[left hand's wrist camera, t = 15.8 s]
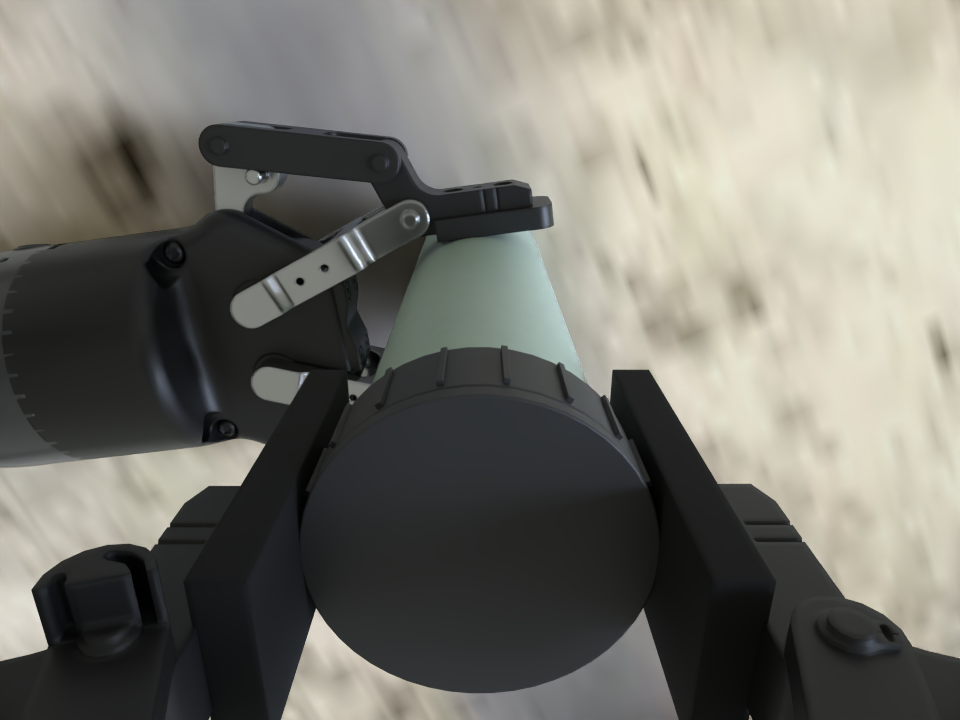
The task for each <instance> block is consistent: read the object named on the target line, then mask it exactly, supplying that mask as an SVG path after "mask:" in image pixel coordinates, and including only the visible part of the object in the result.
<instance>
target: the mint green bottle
mask: <svg viewBox="0 0 960 720" xmlns="http://www.w3.org/2000/svg"><path fill="white" fill-rule="evenodd" d="M501 345H504V346H508V349H510V350H515V351H519V352H523V353H527V354H531V355H534V356H537V357H540V358H542V359H545V360H548V361H550V362H553V363H555V364H556V365H557V364H558V362H560V363H562V364H564V366H565V369H566V370H568V371H570V372H571V373H573V374H574V375H575V376H577V377H578V378H580V379H581V380H582V381H584V382H585V383H587V381H586V378H585V375H584V373H583V370H582V367H581V364H580V362H579V359H578V356H577V354H576V351H575V348H574V345H573V343H572V340H571V337H570V335H569V332H568V329H567V326H566V324H565V321H564V318H563V315H562V313H561V310H560V307H559V305H558V302H557V299H556V296H555V294H554V291H553V288H552V285H551V283H550V280H549V277H548V275H547V272H546V269H545V266H544V264H543V261H542V258H541V256H540V253H539V250H538V247H537V245H536V242H535V239H534V237H533V234H532V233H531V231H523V232H515V233H507V234H500V235H492V236H485V237H477V238H467V239H462V240H454V241H447V242H439V243H438V242H437V235H430V236H426V239H425V241H424V244H423V247H422V250H421V252H420V255H419V258H418V261H417V263H416V266H415V269H414V271H413V274H412V277H411V280H410V282H409V285H408V288H407V290H406V293H405V296H404V299H403V301H402V304H401V307H400V309H399V312H398V315H397V318H396V320H395V323H394V326H393V329H392V331H391V334H390V337H389V339H388V342H387V345H386V348H385V350H384V353H383V356H382V358H381V361H380V364H379V367H378V369H377V372H376V375H375V377H374V380H373V383H375V382H376V381H377V380H379V379H380V378H381V377H383V376H384V374H385V371H386V369H388V368H390V367H392V369H393V370H394V369H396V368H397V367H399V366H401V365H403V364H405V363H407V362H410V361H412V360H415V359H417V358H420V357H422V356H425V355H429V354H433V353H436V352H440V350H441V348H443V347H447V349H448V350H450V349H458V348H465V347H493V348H501ZM373 383H372V384H373Z"/></svg>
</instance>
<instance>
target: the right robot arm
mask: <svg viewBox="0 0 960 720" xmlns="http://www.w3.org/2000/svg"><path fill="white" fill-rule="evenodd" d="M199 149H200V152H201V154H202V156H203V157H204V158H205V159H206V160H207V161H208V162H209V163H210V164H212V165H213V179H214V202H215V211H213V212H211V213H209V214H207V215H206V216H204V217H203V218H202V219H201V220H200V221H199V222H198V223H196V224H195V225H193V226H189V227H184V228H177V229H170V230H162V231H155V232H147V233H140V234H132V235H125V236H117V237H110V238H102V239H95V240H88V241H80V242H73V243H65V244H58V245H51V244H34V245H25V246H19V247H17V248H16V249H13V251H6V252H0V468H10V467H28V466H38V465H46V464H54V463H63V462H71V461H79V460H88V459H97V458H105V457H114V456H123V455H131V454H140V453H148V452H157V451H165V450H174V449H183V448H191V447H199V446H205V445H210V444H215V443H219V442H222V441H226V440H231V439H249V440H253V441H257V442H260V443H263V444H266V443H267V442H268V440H269V438H270V437H271V435H272V433H273V432H274V430H275V428H276V427H277V425H278V423H279V422H280V420H281V418H282V417H283V415H284V413H285V412H286V410H287V408H288V407H289V405H290V403H291V402H292V400H293V399H294V397H295V395H296V394H297V392H298V390H299V389H300V387H301V385H302V384H303V382H304V380H305V379H306V377H307V375H308V374H309V372H310V370H347V377H348V390H349V402H350V404H353V403H354V402H355V400H356V399H357V398H358V397H359V396H360V395H361V394H362V393H363V392H364V391H365V390H366V389H367V388H368V387H369V386H371V385H372V383H373V380H374V377H375V375H376V372H377V369H378V367H379V364H380V361H381V358H382V356H383V353H384V350H385V348H380V347H376V346H371V345H370V343H369V338H368V333H367V329H366V327H365V325H364V323H363V321H362V319H361V317H360V315H359V313H358V311H357V299H358V284H357V279H356V273H358V272H360V271H361V270H363V269H365V268H366V267H368V266H369V265H370V264H371V263H373V262H374V261H376V260H378V259H379V258H381V257H383V256H385V255H387V254H389V253H391V252H393V251H394V250H396V249H398V248H400V247H402V246H404V245H406V244H407V243H409V242H411V241H413V240H415V239H417V238H419V237H422V236H430V235H437V242H438V243H439V242H447V241H454V240H462V239H467V238H477V237H485V236H492V235H500V234H507V233H515V232H523V231H530V230H538V229H544V228H548V227H551V226H553V225H554V222H553V211H552V202H551V201H550V199H549V198H548V197H547V196H535V197H532V191H531V188H530V186H529V184H527V183H524V182H520V181H516V180H506V181H498V182H491V183H484V184H476V185H469V186H462V187H454V188H447V189H434V188H431V187H428V186H427V185H425V184H424V183H423V182H422V181H421V180H420V179H419V177H418V175H417V174H416V172H415V170H414V168H413V166H412V164H411V163H410V161H409V159H408V153H407V150H406V147H405V146H404V144H403V143H402V142H401V141H400V140H398V139H396V138H394V137H388V136H378V135H369V134H360V133H350V132H341V131H332V130H322V129H313V128H304V127H294V126H285V125H276V124H266V123H257V122H248V121H239V122H229V123H222V124H216V125H210V126H208V127H206V128H205V129H204V130H203V131H202V132H201V134H200V137H199ZM287 174H293V175H303V176H312V177H322V178H331V179H341V180H350V181H360V182H370V183H371V184H372V186H373V187H374V189H375V191H376V193H377V194H378V196H379V198H380V200H381V202H382V203H383V205H382V206H381V207H379V208H377V209H375V210H373V211H371V212H370V213H368V214H366V215H363V216H361V217H359V218H357V219H355V220H353V221H351V222H349V223H348V224H346V225H344V226H342V227H340V228H339V229H337V230H335V231H333V232H331V233H330V234H328V235H326V236H324V237H322V238H321V239H319V240H315V239H313V238H311V237H309V236H307V235H305V234H303V233H301V232H299V231H297V230H295V229H293V228H291V227H289V226H287V225H285V224H283V223H281V222H280V221H278V220H276V219H274V218H272V217H270V216H268V215H266V214H264V213H262V212H260V211H258V210H256V209H254V208H252V204H253V201H254V198H255V197H256V196H257V195H258V194H266V193H269V192H271V191H273V190H276V189H278V188H279V187H281V186H282V185H283V184H284V182H285V181H286V178H287ZM367 362H368V363H367Z"/></svg>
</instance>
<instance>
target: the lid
mask: <svg viewBox="0 0 960 720" xmlns="http://www.w3.org/2000/svg"><path fill="white" fill-rule="evenodd" d="M651 486H652V483H651V480H650V478H649V475H648V473H647V471H646V469H645V466H644V464H643V462H642V459H641V457H640V455H639V453H638V450H637V448H636V446H635V443H634V441H633V439H630V440H628V439H627V437H626V434H625V432H624V430H623V428H622V426H621V424H620V423H619V421H618V419H617V418H616V416H615V414H614V412H613V409H612V407H611V405H610V402H609V400H608V398H607V397H606V396H605V395H604V396H602V397H600V396H599V395H598V394H597V393H596V392H595V391H594V390H593V389H592V388H591V387H590V386H589V385H588V384H587V383H585V382H584V381H582V380H581V379H580V378H578V377H577V376H575V375H574V374H573V373H571V372H570V371H568V370H566V369H565V366H564V364H562V363H560V362H558V364H557V365H556V364H555V363H553V362H550V361H548V360H545V359H542V358H540V357H537V356H534V355H531V354H527V353H523V352H519V351H515V350H510V349H508V346H504V345H501V348H493V347H465V348H458V349H450V350H448V349H447V347H443V348H441V350H440V352H436V353H433V354H429V355H425V356H422V357H420V358H417V359H415V360H412V361H410V362H407V363H405V364H403V365H401V366H399V367H397V368H396V369H394V370H393V369H392V367H390V368H388V369H386V371H385V374H384V376H383V377H381V378H380V379H379V380H377V381H376V382H375V383H373V384H372V385H371V386H369V387H368V388H367V389H366V390H365V391H364V392H363V393H362V394H361V395H360V396H359V397H358V398H357V399H356V400H355V402H354V403H353V404H350V403H347V405H346V406H345V408H344V410H343V413H342V415H341V417H340V420H339V422H338V424H337V427H336V429H335V431H334V434H333V436H332V438H331V441H330V443H329V447H328V449H327V448H324V449H323V451H322V453H321V456H320V458H319V460H318V463H317V465H316V467H315V469H314V472H313V474H312V476H311V479H310V481H309V483H308V485H307V488H306V490H305V493H304V496H307V497H308V498H307V500H306V503H305V506H304V509H303V512H302V518H301V523H300V528H299V541H300V551H301V559H302V567H303V575H304V580H305V583H306V587H307V590H308V592H309V594H310V596H311V598H312V600H313V603H314V605H315V607H316V608H317V610H318V611H319V613H320V614H321V616H322V618H323V619H324V621H325V622H326V623H327V625H328V626H329V627H330V628H331V629H332V630H333V632H334V633H335V634H336V635H337V636H338V637H339V638H340V639H341V640H342V641H343V642H344V643H345V644H346V645H347V646H348V647H350V648H351V649H352V650H353V651H354V652H355V653H357V654H358V655H360V656H361V657H363V658H364V659H365V660H367V661H368V662H370V663H371V664H373V665H375V666H377V667H378V668H380V669H382V670H384V671H386V672H388V673H390V674H392V675H394V676H397V677H399V678H402V679H404V680H406V681H409V682H412V683H416V684H419V685H423V686H426V687H430V688H435V689H440V690H445V691H452V692H463V693H497V692H507V691H515V690H520V689H524V688H529V687H534V686H537V685H540V684H544V683H547V682H550V681H553V680H556V679H558V678H560V677H563V676H565V675H567V674H570V673H572V672H574V671H576V670H578V669H579V668H581V667H583V666H585V665H586V664H588V663H590V662H592V661H593V660H594V659H596V658H597V657H598V656H600V655H601V654H602V653H604V652H605V651H607V650H608V649H609V648H610V647H611V646H612V645H613V644H614V643H615V642H616V641H618V640H619V639H620V638H621V637H622V636H623V635H624V633H625V632H626V631H627V630H628V629H629V627H630V626H631V625H632V624H633V623H634V621H635V620H636V618H637V617H638V615H639V614H640V612H641V610H642V609H643V607H644V606H645V604H646V602H647V599H648V597H649V595H650V593H651V590H652V588H653V586H654V582H655V578H656V572H657V564H658V556H659V547H660V525H659V521H658V516H657V511H656V507H655V504H654V502H653V499H652V497H651V494H650V492H649V489H648V487H651Z"/></svg>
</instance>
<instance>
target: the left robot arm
mask: <svg viewBox="0 0 960 720" xmlns="http://www.w3.org/2000/svg"><path fill="white" fill-rule="evenodd" d="M347 403H350V402H349V390H348V377H347V370H310V372H309V374H308V375H307V377H306V379H305V380H304V382H303V384H302V385H301V387H300V389H299V390H298V392H297V394H296V395H295V397H294V399H293V400H292V402H291V403H290V405H289V407H288V408H287V410H286V412H285V413H284V415H283V417H282V418H281V420H280V422H279V423H278V425H277V427H276V428H275V430H274V432H273V433H272V435H271V437H270V438H269V440H268V442H267V443H266V445H265V447H264V448H263V450H262V452H261V453H260V455H259V457H258V458H257V460H256V462H255V463H254V465H253V466H252V468H251V470H250V471H249V473H248V475H247V476H246V478H245V480H244V481H243V483H242V485H241V486H208V487H207V488H206V489H204V490H203V491H201V492H200V493H199V494H197V495H196V496H194V497H193V498H191V499H190V500H189V501H187V502H186V503H184V505H183V506H182V508H181V509H180V510H179V512H178V513H177V515H176V516H175V517H174V519H173V520H172V522H171V523H170V527H167V529H166V530H165V531H164V533H163V534H162V536H161V537H160V538H159V540H158V544H155V545H154V547H153V548H152V550H151V551H149V550H148V549H147V548H145V547H141V546H136V545H132V544H117V545H106V546H102V547H98V548H94V549H90V550H86V551H83V552H81V553H79V554H77V555H74V556H72V557H70V558H68V559H66V560H63V561H61V562H60V563H59V564H57V565H56V566H55V567H53V568H52V569H50V570H49V571H48V572H46V573H45V574H44V575H43V576H42V577H41V578H40V579H39V581H38V582H37V583H36V585H35V586H34V587H33V588H32V594H33V597H34V600H35V603H36V607H37V610H38V613H39V616H40V620H41V623H42V626H43V630H44V633H45V636H46V639H47V643H48V649H47V650H44V651H40V652H37V653H34V654H30V655H26V656H21V657H17V658H13V659H8V660H4V661H0V720H209V717H211V720H281V717H282V714H283V711H284V708H285V705H286V701H287V698H288V695H289V692H290V689H291V686H292V682H293V679H294V676H295V673H296V670H297V667H298V663H299V660H300V657H301V654H302V651H303V648H304V644H305V641H306V638H307V635H308V632H309V629H310V625H311V622H312V619H313V616H314V613H315V610H316V607H315V605H314V603H313V600H312V598H311V596H310V594H309V592H308V590H307V587H306V583H305V580H304V575H303V567H302V559H301V551H300V541H299V528H300V523H301V518H302V512H303V509H304V506H305V503H306V500H307V498H308V497H307V496H304V493H305V490H306V488H307V485H308V483H309V481H310V479H311V476H312V474H313V472H314V469H315V467H316V465H317V463H318V460H319V458H320V456H321V453H322V451H323V449H324V448H327V449H328V447H329V443H330V441H331V438H332V436H333V434H334V431H335V429H336V427H337V424H338V422H339V420H340V417H341V415H342V413H343V410H344V408H345V406H346V405H347ZM610 405H611V407H612V409H613V412H614V414H615V416H616V418H617V419H618V421H619V423H620V424H621V426H622V428H623V430H624V432H625V434H626V437H627V439H628V440H630V439H633V441H634V443H635V446H636V448H637V450H638V453H639V455H640V457H641V459H642V462H643V464H644V466H645V469H646V471H647V473H648V475H649V478H650V480H651V483H652V486H651V487H648V489H649V492H650V494H651V497H652V499H653V502H654V504H655V507H656V511H657V516H658V521H659V525H660V547H659V556H658V564H657V572H656V578H655V582H654V586H653V588H652V590H651V593H650V595H649V597H648V599H647V602H646V604H645V606H644V607H643V608H644V611H645V614H646V617H647V620H648V623H649V627H650V630H651V633H652V636H653V639H654V642H655V646H656V649H657V652H658V655H659V658H660V661H661V665H662V668H663V671H664V674H665V677H666V680H667V684H668V687H669V690H670V693H671V696H672V699H673V703H674V706H675V709H676V712H677V715H678V718H679V720H749V715H751V717H752V720H960V658H955V657H951V656H946V655H942V654H938V653H933V652H929V651H926V650H922V649H919V648H916V647H912V645H911V643H910V642H909V640H908V639H907V637H906V636H905V634H904V633H903V631H902V630H901V629H900V628H899V627H898V626H897V625H895V624H894V623H893V622H892V621H891V620H889V619H888V618H887V617H886V616H884V615H883V614H881V613H879V612H877V611H875V610H874V609H872V608H870V607H868V606H866V605H864V604H862V603H859V602H855V601H852V600H848V599H845V597H844V596H843V595H842V593H841V592H840V590H839V589H838V588H837V586H836V585H835V583H834V582H833V581H832V579H831V578H830V576H829V575H828V574H827V572H826V571H825V569H824V568H823V567H822V565H821V564H820V563H819V561H818V560H817V558H816V557H815V556H814V554H813V553H812V551H811V550H810V549H809V547H808V546H807V544H806V543H805V542H802V537H801V536H800V535H799V533H798V532H797V531H796V529H795V528H794V526H793V525H790V521H789V519H788V518H787V517H786V515H785V514H784V512H783V511H782V510H781V508H780V507H779V505H778V504H777V503H776V501H774V500H773V499H772V498H770V497H769V496H767V495H766V494H764V493H763V492H762V491H760V490H759V489H757V488H756V487H754V486H753V485H752V484H717V482H716V480H715V479H714V477H713V475H712V474H711V472H710V470H709V469H708V467H707V465H706V464H705V462H704V461H703V459H702V457H701V456H700V454H699V452H698V451H697V449H696V447H695V446H694V444H693V442H692V441H691V439H690V437H689V436H688V434H687V432H686V431H685V429H684V427H683V426H682V424H681V422H680V421H679V419H678V417H677V416H676V414H675V412H674V411H673V409H672V407H671V406H670V404H669V402H668V401H667V399H666V398H665V396H664V394H663V393H662V391H661V389H660V388H659V386H658V384H657V383H656V381H655V379H654V378H653V376H652V374H651V373H650V371H649V370H613V372H612V385H611V397H610Z"/></svg>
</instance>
